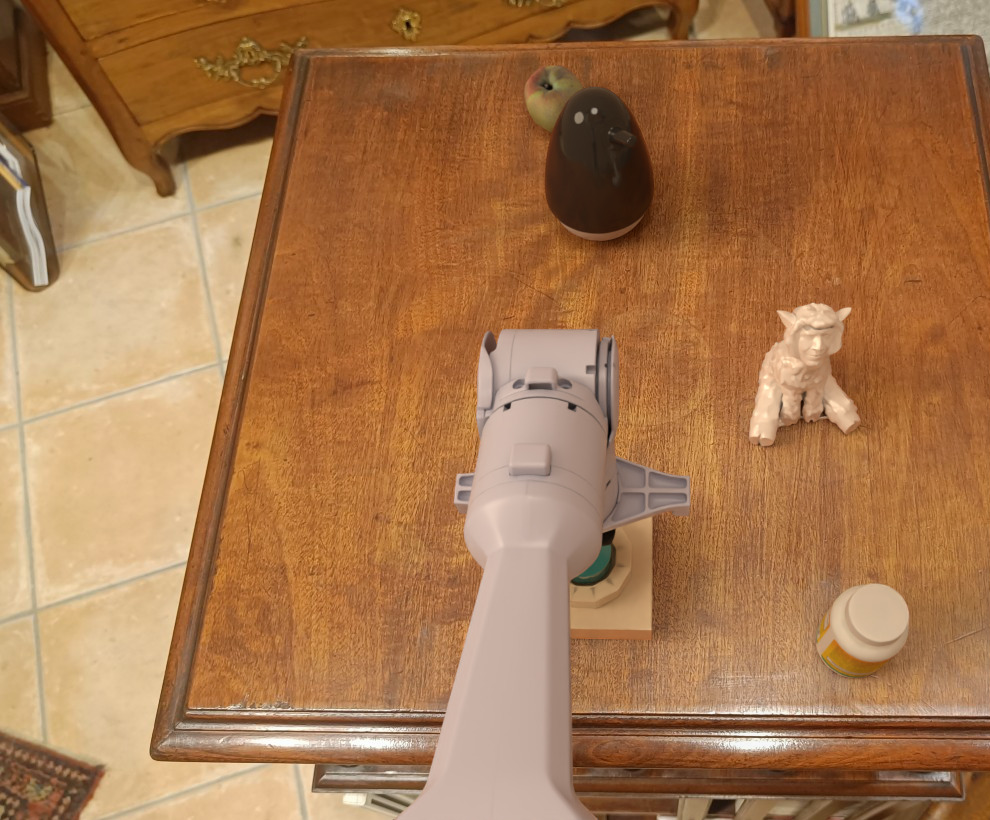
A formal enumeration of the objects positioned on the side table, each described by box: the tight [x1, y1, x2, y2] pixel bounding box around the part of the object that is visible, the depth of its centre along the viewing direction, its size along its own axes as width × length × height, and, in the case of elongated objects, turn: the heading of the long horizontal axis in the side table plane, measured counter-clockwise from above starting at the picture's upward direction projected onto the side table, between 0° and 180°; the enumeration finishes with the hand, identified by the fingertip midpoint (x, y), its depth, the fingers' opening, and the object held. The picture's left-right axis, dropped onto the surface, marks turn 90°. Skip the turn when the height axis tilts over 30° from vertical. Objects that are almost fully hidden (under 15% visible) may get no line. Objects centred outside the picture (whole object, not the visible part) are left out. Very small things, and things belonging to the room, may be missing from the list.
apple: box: [523, 64, 585, 134], centre depth 93 cm, size 6×8×6 cm
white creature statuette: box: [748, 302, 862, 447], centre depth 74 cm, size 10×9×12 cm
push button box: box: [570, 516, 654, 641], centre depth 71 cm, size 10×10×5 cm
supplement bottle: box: [815, 582, 910, 679], centre depth 65 cm, size 5×5×10 cm
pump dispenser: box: [544, 86, 655, 242], centre depth 83 cm, size 10×10×15 cm
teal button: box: [572, 544, 612, 583], centre depth 68 cm, size 4×4×2 cm
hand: (581, 536), depth 65 cm, fingers closed
